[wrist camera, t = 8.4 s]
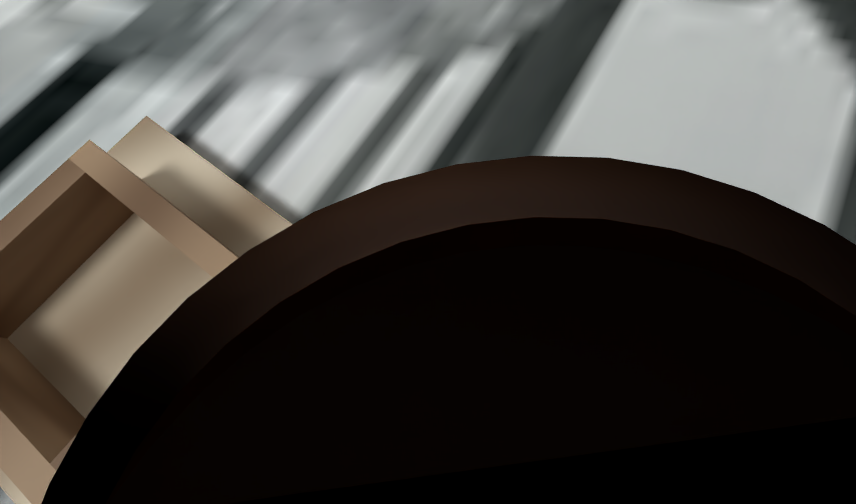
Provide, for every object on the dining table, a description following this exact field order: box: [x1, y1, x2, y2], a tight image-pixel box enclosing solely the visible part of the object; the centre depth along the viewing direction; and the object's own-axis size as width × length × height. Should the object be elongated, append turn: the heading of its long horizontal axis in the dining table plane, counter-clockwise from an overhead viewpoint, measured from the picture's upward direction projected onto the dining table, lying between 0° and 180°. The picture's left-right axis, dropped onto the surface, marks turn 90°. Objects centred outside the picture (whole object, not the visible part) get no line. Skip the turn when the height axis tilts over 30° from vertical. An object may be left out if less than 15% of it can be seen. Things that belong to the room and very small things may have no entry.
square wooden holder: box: [0, 116, 293, 504], centre depth 14 cm, size 11×11×4 cm
